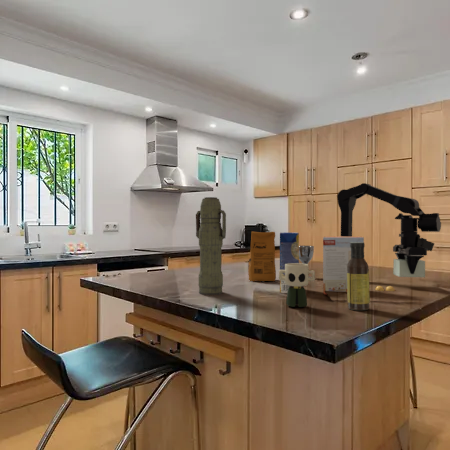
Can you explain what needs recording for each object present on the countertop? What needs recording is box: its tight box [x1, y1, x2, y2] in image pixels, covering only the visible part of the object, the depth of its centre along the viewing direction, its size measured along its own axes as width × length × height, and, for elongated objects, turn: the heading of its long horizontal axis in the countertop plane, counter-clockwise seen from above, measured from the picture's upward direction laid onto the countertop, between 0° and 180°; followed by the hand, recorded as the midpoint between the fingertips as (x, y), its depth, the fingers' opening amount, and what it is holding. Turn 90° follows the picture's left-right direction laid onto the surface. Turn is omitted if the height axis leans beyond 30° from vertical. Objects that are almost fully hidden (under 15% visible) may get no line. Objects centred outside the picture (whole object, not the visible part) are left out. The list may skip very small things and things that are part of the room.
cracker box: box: [322, 235, 365, 296], centre depth 137 cm, size 14×6×21 cm, turn 74°
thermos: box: [195, 196, 227, 296], centre depth 140 cm, size 9×12×35 cm
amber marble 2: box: [385, 285, 396, 292], centre depth 137 cm, size 3×3×3 cm
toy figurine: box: [278, 262, 316, 308], centre depth 116 cm, size 11×7×13 cm, turn 80°
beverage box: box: [279, 232, 300, 294], centre depth 144 cm, size 7×11×22 cm, turn 170°
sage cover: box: [392, 258, 426, 278], centre depth 144 cm, size 9×7×6 cm
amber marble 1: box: [374, 285, 385, 292], centre depth 137 cm, size 3×3×3 cm
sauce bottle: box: [346, 242, 371, 312], centre depth 113 cm, size 6×6×20 cm
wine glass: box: [299, 245, 315, 278], centre depth 179 cm, size 8×8×15 cm
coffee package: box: [247, 231, 277, 282], centre depth 171 cm, size 10×12×22 cm
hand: (408, 272), depth 144 cm, fingers closed on sage cover, 7 cm apart
